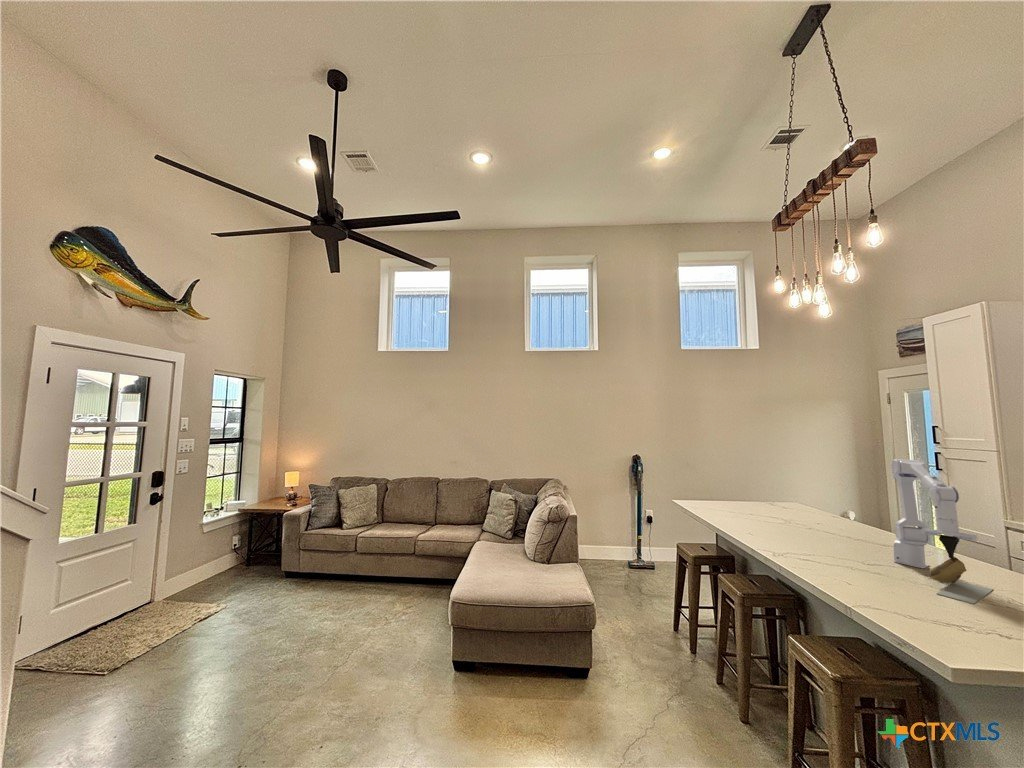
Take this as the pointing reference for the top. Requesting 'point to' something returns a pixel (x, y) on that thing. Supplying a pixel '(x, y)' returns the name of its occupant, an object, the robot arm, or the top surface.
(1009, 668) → the top surface
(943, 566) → the rock
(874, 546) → the top surface
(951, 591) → the mat
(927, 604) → the top surface
